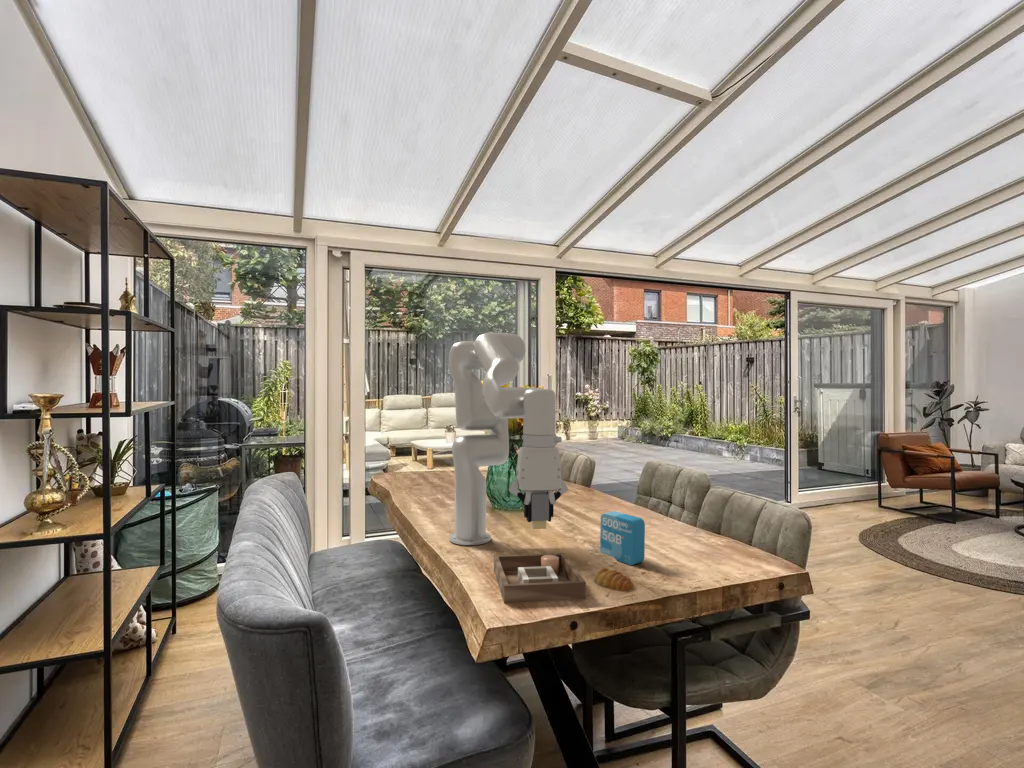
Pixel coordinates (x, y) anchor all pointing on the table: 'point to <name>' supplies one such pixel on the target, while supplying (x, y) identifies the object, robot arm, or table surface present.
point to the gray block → (539, 509)
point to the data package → (622, 537)
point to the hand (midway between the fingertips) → (538, 519)
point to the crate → (537, 579)
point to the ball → (551, 562)
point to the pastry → (613, 580)
